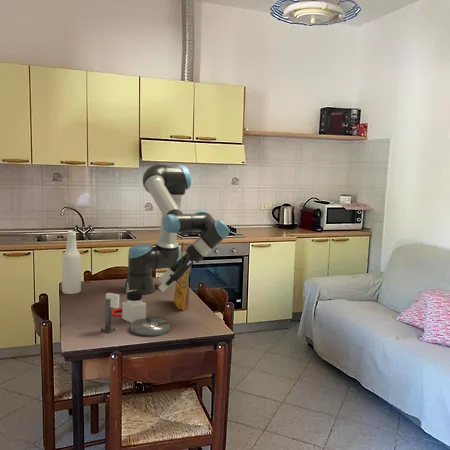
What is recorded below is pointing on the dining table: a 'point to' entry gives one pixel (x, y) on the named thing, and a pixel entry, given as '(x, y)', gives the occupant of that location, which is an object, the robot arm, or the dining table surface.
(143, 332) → the disc
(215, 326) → the dining table surface
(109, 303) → the gray upright stand
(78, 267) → the alcohol
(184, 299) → the pancake mix bag
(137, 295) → the medicine bottle
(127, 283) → the tow hook
